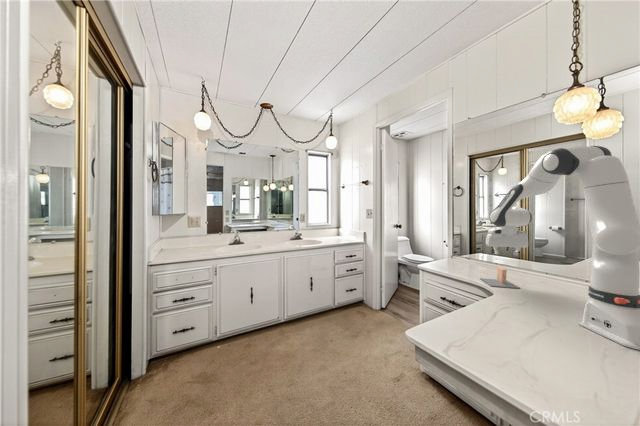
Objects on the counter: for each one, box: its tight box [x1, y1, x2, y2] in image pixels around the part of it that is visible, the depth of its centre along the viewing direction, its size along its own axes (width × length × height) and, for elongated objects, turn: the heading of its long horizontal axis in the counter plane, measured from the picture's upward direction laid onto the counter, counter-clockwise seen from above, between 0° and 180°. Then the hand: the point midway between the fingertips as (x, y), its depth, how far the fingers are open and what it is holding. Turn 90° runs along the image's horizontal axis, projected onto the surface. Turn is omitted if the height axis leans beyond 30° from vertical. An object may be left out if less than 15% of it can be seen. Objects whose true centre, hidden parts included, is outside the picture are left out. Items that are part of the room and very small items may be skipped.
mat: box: [479, 277, 521, 290], centre depth 137 cm, size 14×14×1 cm
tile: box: [496, 266, 507, 284], centre depth 139 cm, size 6×2×8 cm, turn 166°
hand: (506, 254), depth 138 cm, fingers open, 8 cm apart
